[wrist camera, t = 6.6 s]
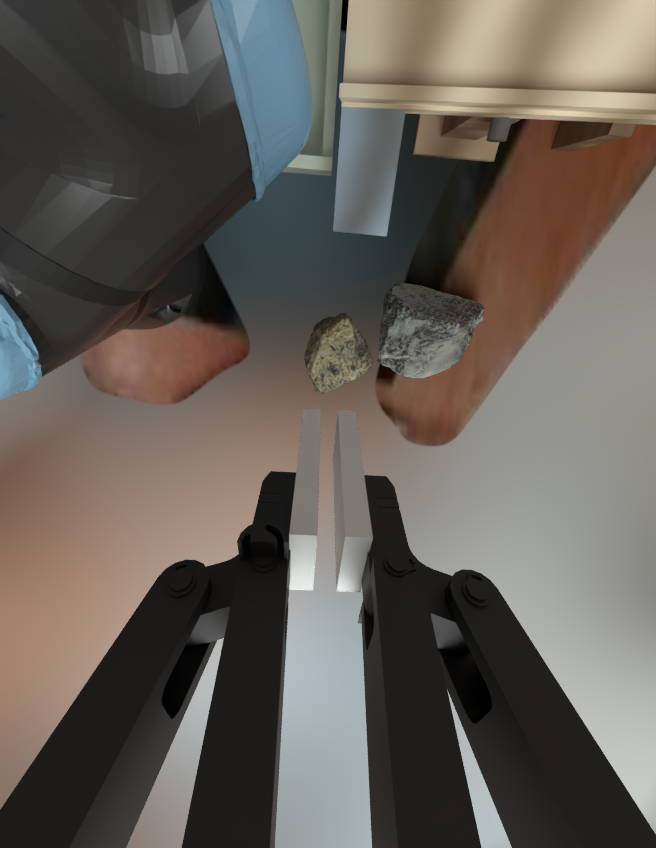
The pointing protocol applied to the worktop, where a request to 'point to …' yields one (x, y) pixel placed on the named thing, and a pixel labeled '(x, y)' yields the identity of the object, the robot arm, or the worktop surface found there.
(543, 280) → the worktop surface
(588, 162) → the worktop surface
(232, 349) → the worktop surface
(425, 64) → the lever
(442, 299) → the stone
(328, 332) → the rock
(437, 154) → the fulcrum
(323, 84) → the bin
